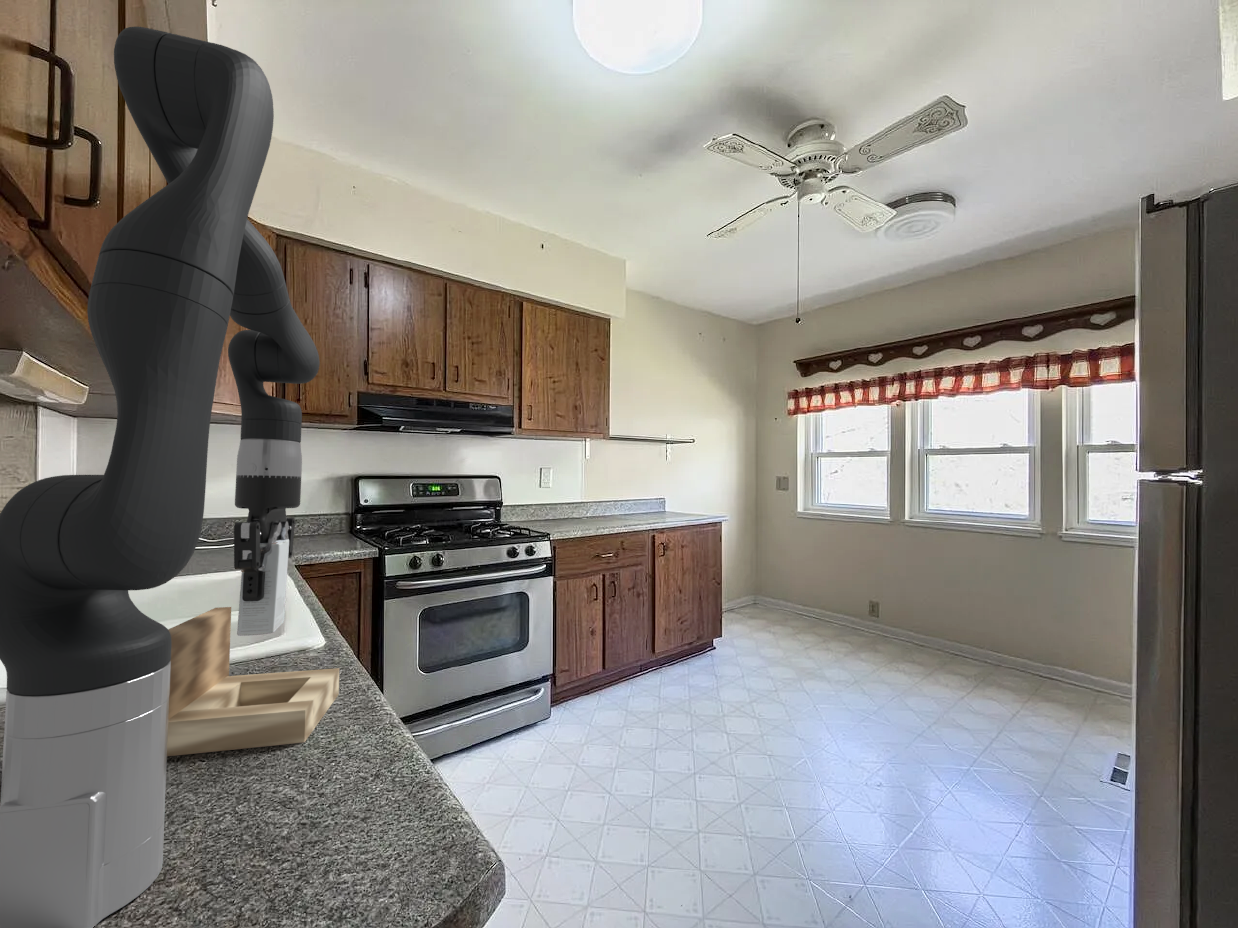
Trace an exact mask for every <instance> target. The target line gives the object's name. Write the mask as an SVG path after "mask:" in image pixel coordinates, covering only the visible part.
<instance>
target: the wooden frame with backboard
mask: <svg viewBox="0 0 1238 928" xmlns="http://www.w3.org/2000/svg"><path fill="white" fill-rule="evenodd" d="M231 622H232V606H225V607H224V606H223V607H222V606H221V607H219V606H218V607H214V608H212V609H210V610H207V611H205V612H203V613H201V614H199V615H197V616H195V617H193V618H190V619H188V620H186V621H184V622H182V623H181V622H180V623H179V624H177V625H174V626H172V627H171V628H167V629H168V630H169V632H170V635H171V660H170V661H171V668H170V693H169V713H168V738H167V757H172V756H173V757H174V756H175V757H176V756H184V755H193V754H194V755H195V754H203V753H213V752H215V753H216V752H223V751H225V752H226V751H232V750H241V749H242V750H244V749H251V748H252V749H253V748H261V747H262V748H263V747H271V746H282V745H291V744H302V743H305V742H306V741H307V740H308V738H309V737H310V735H311V734H312V733H313V731H314V730H315V728H316V727H317V725H318V724H319V722H320V721H321V720H322V718H323V717H324V716H325V714H326V713H327V712H328V710H329V709H330V707H331V706H332V705H333V703H334V702H335V700H336V699H337V698H338V696H339V694H340V692H339V691H340V668H339V667H337V668H324V669H323V668H322V669H313V670H311V669H310V670H298V671H297V670H296V671H280V672H269V673H267V672H266V673H255V674H241V675H230V659H231V658H230V656H231V655H230V653H231V627H232V626H231V625H232V623H231Z"/></svg>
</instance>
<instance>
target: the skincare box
mask: <svg viewBox="0 0 1238 928" xmlns="http://www.w3.org/2000/svg"><path fill="white" fill-rule="evenodd" d="M267 544H268V543H260V547H265V546H266V545H267ZM288 553H289V539H287V540H277V541H276V543H273V544H272V553H271V554H270V555H268V556H267V564H266V568H265V571H264V572H265V584H264V598H263V599H262V600H259V601H248V602H246V601H244V600H243V599H242V596H243V575H244V572H241V577H240V578H241V579H240V591H239V601H238V603H239V605H238V617H237V628H236V629H237V631H236V635H237V636H240V637H243V636H244V637H245V636H259V635H261V636H262V635H268V634H270V635H271V634H273V633H274V632H275V631H276V630H277V629H278V628H280V627H281V625H283V623H285V612H286V599H287V598H286V597H287V583H288V582H287V581H288V566H289V558H288ZM243 556H244V554H243ZM260 556H261V554H260ZM250 559H252V554H251V555H250Z"/></svg>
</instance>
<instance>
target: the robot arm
mask: <svg viewBox="0 0 1238 928" xmlns="http://www.w3.org/2000/svg"><path fill="white" fill-rule="evenodd" d="M114 43H115V44H114V48H113V63H114V65H113V66H114V70H115V75H116V80H117V83H118V87H119V89H120V92H121V94H122V96H123V99H124V101H125V102H124V103H125V105H126V107H127V108H128V111H129V113H130V116H131V117H132V119H133V122H134V123H135V125H136V127H137V129H138V131H139V133H140V135H141V137H142V139H143V140H144V143H145V144H146V146H147V148H148V150H149V151H150V153H151V155H152V157H153V158H154V160H155V162H156V165H157V166H158V168H159V170H160V172H161V173H162V175H163V176H164V179H165V181H166V182H167V185H165V186H164V187H163V188H161V189H160V190H158V191H157V192H156V193H154V194H153V195H151V196H149V197H148V198H146V199H145V200H144V201H143V202H142V203H140V204H139V205H138V206H136V207H134V209H132V210H131V211H130V212H128V213H127V214H125V216H123V217H122V218H121V219H120V220H119V221H118V222H116V224H115V225H114V226H113V227H112V228H111V229H110V230H109V232H108V233H107V235H106V236H105V238H104V240H103V242H102V243H101V247H100V249H99V254H98V258H97V260H96V265H95V270H94V273H93V276H92V281H91V284H90V288H89V293H88V299H87V308H86V309H87V310H86V312H87V313H86V314H87V321H88V325H89V330H90V333H91V335H92V339H93V341H94V344H95V346H96V347H95V348H96V349H97V352H98V355H99V356H100V358H101V360H102V363H103V365H104V367H105V369H106V372H107V374H108V377H109V379H110V382H111V384H112V388H113V389H114V393H115V398H116V399H115V400H116V408H117V410H116V411H117V412H116V413H117V414H116V415H117V416H116V426H115V432H114V435H113V442H112V447H111V452H110V455H109V459H108V462H107V466H106V468H105V471H104V473H103V474H64V475H63V474H62V475H54V476H49V477H44V478H42V479H38V480H37V481H33V482H32V483H29V484H28V485H26V486H24V487H23V488H21V489H19V490H18V491H17V492H16V493H15V494H14V495H13V496H12V497H11V498H10V499H9V500H8V501H7V502H6V504H5V505H4V507H3V508H2V510H1V511H0V661H1V663H2V665H3V666H4V668H5V671H6V695H5V697H6V698H5V712H4V713H5V714H4V716H5V717H4V732H3V745H2V746H3V748H2V749H3V750H2V767H1V785H0V786H1V788H0V928H93V927H94V926H95V927H96V926H97V924H99V923H100V922H101V921H102V920H103V919H105V918H106V917H108V916H109V915H111V914H113V913H115V912H117V911H118V910H120V909H121V908H124V907H125V906H126V905H128V904H129V903H131V902H132V901H133V900H134V899H136V898H138V897H139V896H140V895H141V894H142V893H143V892H144V891H146V890H147V889H148V888H149V887H151V885H152V884H153V883H154V882H155V881H156V880H157V878H158V877H159V874H160V873H161V871H162V869H163V864H164V863H163V862H164V843H165V842H164V839H165V838H164V837H165V836H164V835H165V811H166V809H165V808H166V784H167V783H166V782H167V763H168V762H167V760H168V756H167V738H168V713H169V693H170V668H171V661H170V660H171V635H170V632H169V630H168V629H169V628H167V627H166V626H165V625H163V624H162V623H160V622H158V621H156V620H155V619H153V618H151V617H149V616H147V615H146V614H145V613H143V612H142V611H141V610H140V609H139V608H138V607H137V606H136V605H135V603H134V602H133V601H132V599H131V597H130V594H129V591H142V590H143V591H144V590H150V589H154V588H158V587H160V586H162V585H165V584H166V583H169V582H170V581H171V580H172V579H174V578H175V577H177V576H178V575H179V574H180V573H181V572H182V571H183V570H184V569H185V567H186V566H187V564H188V563H189V561H190V560H191V559H192V556H193V555H194V553H195V550H196V548H197V545H198V543H199V539H200V537H201V533H202V532H201V531H202V527H203V520H204V514H205V499H206V489H207V488H206V486H207V485H206V483H207V471H208V470H207V467H208V453H209V452H208V451H209V449H208V448H209V437H210V426H211V418H212V410H213V406H214V399H215V392H216V387H217V379H218V373H219V368H220V361H221V356H222V351H223V347H224V343H225V339H226V335H227V331H228V328H229V321H230V318H231V320H232V321H233V322H234V323H236V324H237V325H239V326H240V327H243V328H245V329H244V330H240V331H238V332H236V333H235V334H234V335H233V336H232V338H231V339H230V341H229V344H228V346H227V354H228V355H227V356H228V360H229V364H230V367H231V371H232V373H233V377H234V380H235V383H236V388H237V392H238V397H239V402H240V411H241V415H240V416H241V418H240V419H241V423H240V441H239V446H238V451H237V456H236V457H237V458H236V472H235V473H236V474H235V490H234V491H235V493H234V506H235V508H237V509H243V510H246V509H248V513H247V519H246V521H245V522H244V521H241V522H239V521H238V522H235V523H234V526H233V556H234V557H233V567H234V569H235V570H240V572H241V573H242V572H244V575H243V596H242V599H243V600H244V601H246V602H248V601H259V600H262V599H263V598H264V584H265V572H264V571H265V568H266V564H267V556H268V555H270V554H271V553H272V544H273V543H276V541H277V540H287V539H289V553H288V559H291V558H292V556H293V554H294V553H293V549H294V538H295V537H294V536H295V529H296V528H295V527H296V526H295V525H296V518H295V517H287V509H297V508H299V507H300V506H301V497H302V495H301V493H302V471H303V455H302V446H301V445H302V443H301V442H302V426H303V425H302V422H303V413H302V412H303V410H302V408H301V406H300V405H299V403H297V402H295V401H292V400H289V399H286V398H281V397H276V396H273V395H270V394H268V393H267V391H266V389H265V387H264V382H265V383H276V384H277V383H278V384H279V383H280V384H282V383H283V384H293V385H294V384H297V385H299V384H300V385H301V384H307V383H309V382H310V381H313V380H314V378H316V376H317V375H318V373H319V369H320V364H321V363H320V355H319V352H318V349H317V346H316V344H315V342H314V340H313V339H312V337H311V335H310V334H309V332H308V331H307V329H306V327H305V326H304V324H303V323H302V321H301V319H300V318H299V317H298V314H297V313H296V311H295V309H294V307H293V306H292V303H291V298H290V295H289V291H288V288H287V284H286V283H287V282H286V280H285V275H284V272H283V269H282V266H281V263H280V261H279V259H278V257H277V255H276V253H275V251H274V250H273V248H272V247H271V245H270V244H269V242H268V241H267V240H266V239H265V237H264V236H263V235H262V233H260V231H259V230H258V229H257V228H256V227H255V226H254V225H253V223H252V222H251V221H250V220H249V219H248V217H249V214H250V209H251V207H252V204H253V200H254V197H255V195H256V191H257V189H258V186H259V182H260V179H261V175H262V172H263V169H264V166H265V164H266V160H267V156H268V153H269V150H270V148H271V147H270V146H271V142H272V136H273V129H274V118H275V117H274V115H275V114H274V113H275V112H274V100H273V99H274V98H273V94H272V89H271V86H270V83H269V81H268V78H267V76H266V74H265V72H264V70H263V68H262V67H261V66H260V65H259V64H258V63H257V61H256V60H254V58H251V57H250V56H249V55H248V54H246V53H243V52H241V51H239V50H237V49H233V48H231V47H228V46H225V45H222V44H218V43H214V42H210V41H206V40H201V39H198V38H192V37H189V36H184V35H180V34H176V33H172V32H167V31H163V30H158V29H153V28H148V27H145V26H129V27H128V26H127V27H125V28H124V29H123V30H121V31H120V33H119V34H118V36H117V37H116V41H115V42H114ZM260 543H268V544H267V545H266V546H265V547H260ZM243 554H244V556H243ZM251 554H252V559H250V555H251ZM260 554H261V556H260ZM95 927H94V928H95Z"/></svg>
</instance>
